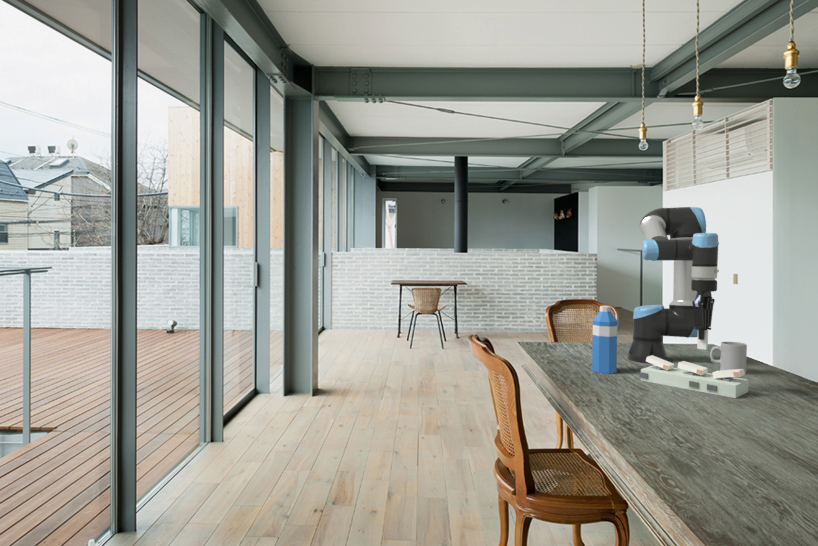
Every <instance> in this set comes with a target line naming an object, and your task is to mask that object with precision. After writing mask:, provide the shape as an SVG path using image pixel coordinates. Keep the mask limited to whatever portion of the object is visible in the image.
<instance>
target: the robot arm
mask: <svg viewBox="0 0 818 546" xmlns="http://www.w3.org/2000/svg"><path fill="white" fill-rule="evenodd" d="M639 229H640V232H641V233H642V234H643V236H644V239H645V240H643V242H642V248H641V249H642V250H641V251H642V253H641V254H642V259H643V260H645V261H653V262H655V261H673V286H672V287H673V289H672V290H673V300H672V301H671V302H670V303H669V304H668V308H667V307H666V308H665V306H664V304H647V305H641V306H637V307H636V306H635V308H634V309H633V316H632V319H633V323H632V324H633V327H632V328H633V329H632V342H631V345H630V347H629V351H628V353H627V354H628V357H627V358H628V359H629V360H631V361H634V362H638V363H647V364H649V363H648V362H646V358H647V357H648V356H651V355H653V356H656V357H658V358H661V359H663V360H666V361H668V354H667V352H666V349H665V345H664V337H675V338H677V337H678V338H687V339H688V338H697V343H696V347H697V348H696V349H698V350H708V346H709V345H708V344H709V331H710V330H711V331H712V320H713V312H714V311H713V310H714V305H715V301H716V300H715V298H713V297H712V292H713V293H714V292H716V291H717V290H718V281H717V279H718V273H719V272H720V270H719V269H718V262H719V245H720V242H719V234H718V233H716V232H707V222H706V216H705V212H704V210H703V209H702V208H701V207H698V206H697V207H695V206H694V207H693V206H685V207H684V206H682V207H681V206H679V207H661V208H656V209H653V210H651V211H649V212H647V213H646V214H645V215H644V216H643V217H642V218H641V220H640V222H639ZM668 236H669V238H668Z"/></svg>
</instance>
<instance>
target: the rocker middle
mask: <svg viewBox="0 0 818 546" xmlns="http://www.w3.org/2000/svg"><path fill="white" fill-rule="evenodd" d="M676 368H680V369H684V370H687V371H690V372H694V373H697V374H700V375H704V374H706V373H708V369H709V368H708V367H707V366H702V365H699V364H696V363H693V362H692V363H691V362H688V361H685V360H682V361H678V363H677V367H676Z"/></svg>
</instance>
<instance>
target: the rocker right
mask: <svg viewBox="0 0 818 546" xmlns="http://www.w3.org/2000/svg"><path fill="white" fill-rule="evenodd" d="M711 374H713V378H724V377H735V378H742V377H743V376H745V375H746V374H745V372H744V369H735V370H720V369H719V370H716V371H712V373H711Z"/></svg>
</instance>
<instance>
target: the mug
mask: <svg viewBox="0 0 818 546" xmlns="http://www.w3.org/2000/svg"><path fill="white" fill-rule="evenodd" d="M747 346H748V345H747V343H745V342H744V343H742V342H739V341H738V342H737V341H722V342H721V343H720V345H716V346H713V347H711V349H710V351H709V358H710V361H711V362H712V363H713V364H716V365H719V371H720V370H735V369H744V372H745V375H746V374H747V354H748V353H747V351H748V348H747ZM715 351H719V352H720V358H719V359H715V358H714V352H715Z"/></svg>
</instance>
